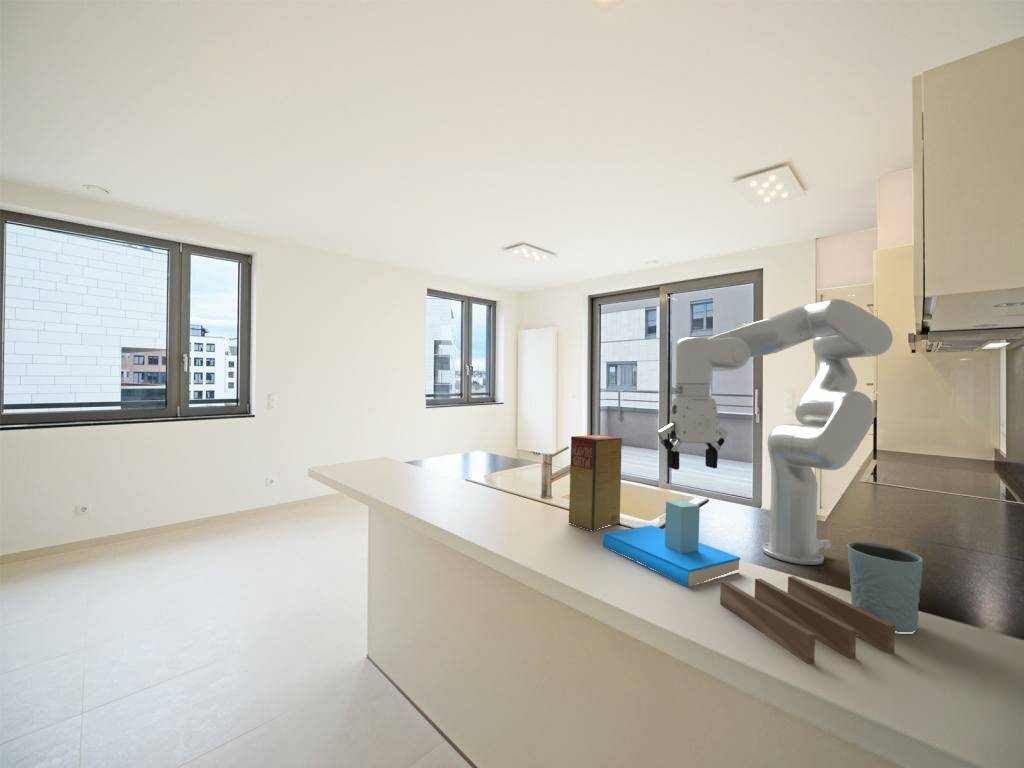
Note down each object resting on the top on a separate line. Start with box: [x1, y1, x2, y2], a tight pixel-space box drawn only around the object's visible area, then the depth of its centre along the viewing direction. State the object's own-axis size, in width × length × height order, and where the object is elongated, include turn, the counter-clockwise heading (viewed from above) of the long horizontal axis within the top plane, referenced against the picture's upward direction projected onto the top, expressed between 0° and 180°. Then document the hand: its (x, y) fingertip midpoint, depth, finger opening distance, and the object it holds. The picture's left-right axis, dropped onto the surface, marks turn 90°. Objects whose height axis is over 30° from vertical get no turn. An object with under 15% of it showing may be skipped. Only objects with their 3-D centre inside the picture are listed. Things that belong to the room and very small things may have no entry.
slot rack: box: [719, 575, 896, 664], centre depth 74 cm, size 16×18×4 cm
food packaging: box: [568, 434, 623, 532], centre depth 128 cm, size 13×9×25 cm
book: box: [601, 525, 741, 587], centre depth 102 cm, size 17×4×25 cm
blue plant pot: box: [846, 541, 924, 632], centre depth 77 cm, size 10×10×12 cm
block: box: [664, 499, 700, 553], centre depth 100 cm, size 5×5×10 cm
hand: (692, 467), depth 101 cm, fingers open, 9 cm apart
